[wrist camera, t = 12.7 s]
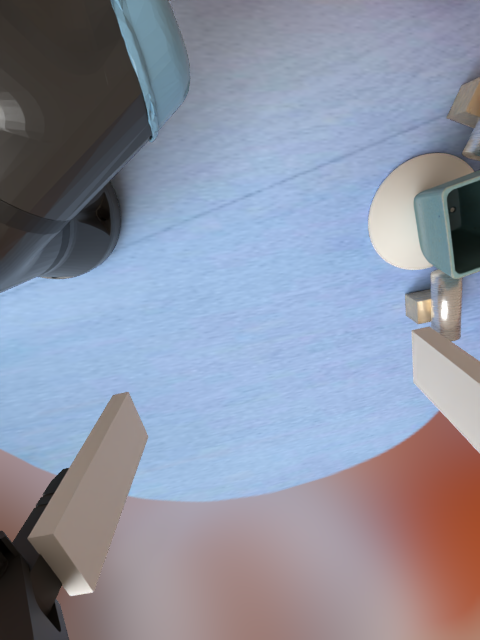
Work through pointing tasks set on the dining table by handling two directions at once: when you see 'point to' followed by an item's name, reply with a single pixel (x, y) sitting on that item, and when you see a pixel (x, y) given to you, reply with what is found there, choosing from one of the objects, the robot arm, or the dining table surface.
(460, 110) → the shaft
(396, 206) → the seat pad
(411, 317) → the shaft
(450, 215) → the flower pot
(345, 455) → the dining table surface
